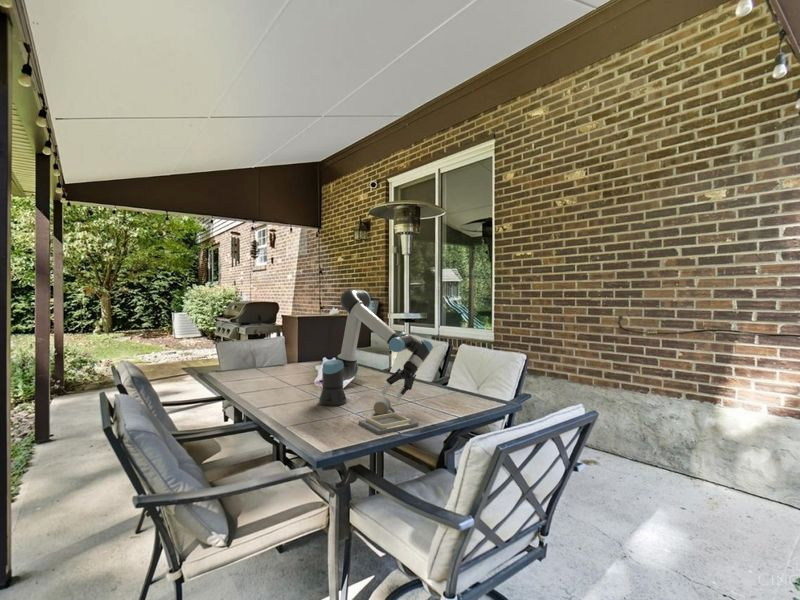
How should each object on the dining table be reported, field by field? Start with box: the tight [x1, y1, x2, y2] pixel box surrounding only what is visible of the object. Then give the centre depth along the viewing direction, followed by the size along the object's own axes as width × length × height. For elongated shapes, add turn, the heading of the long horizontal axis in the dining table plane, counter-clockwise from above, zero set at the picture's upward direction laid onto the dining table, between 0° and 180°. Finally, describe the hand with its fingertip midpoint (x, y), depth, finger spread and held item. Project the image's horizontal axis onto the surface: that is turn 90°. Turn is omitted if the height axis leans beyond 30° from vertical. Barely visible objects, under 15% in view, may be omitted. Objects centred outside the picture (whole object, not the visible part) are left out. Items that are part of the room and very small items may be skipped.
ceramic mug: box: [373, 396, 396, 416], centre depth 218 cm, size 11×8×8 cm
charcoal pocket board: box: [358, 412, 420, 435], centre depth 200 cm, size 18×22×3 cm
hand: (389, 396), depth 220 cm, fingers open, 13 cm apart
